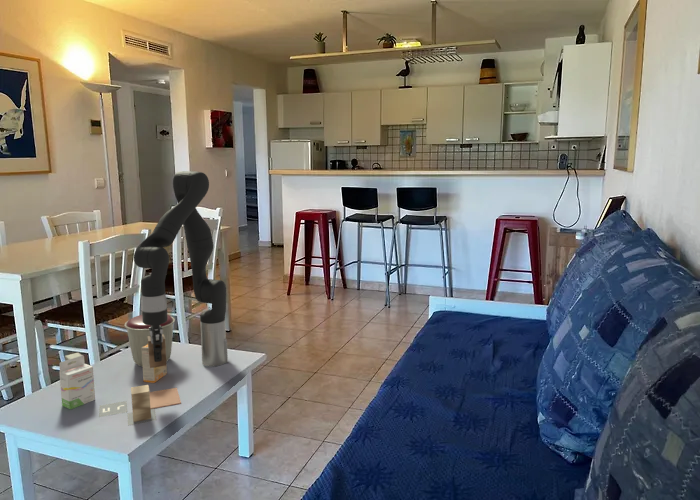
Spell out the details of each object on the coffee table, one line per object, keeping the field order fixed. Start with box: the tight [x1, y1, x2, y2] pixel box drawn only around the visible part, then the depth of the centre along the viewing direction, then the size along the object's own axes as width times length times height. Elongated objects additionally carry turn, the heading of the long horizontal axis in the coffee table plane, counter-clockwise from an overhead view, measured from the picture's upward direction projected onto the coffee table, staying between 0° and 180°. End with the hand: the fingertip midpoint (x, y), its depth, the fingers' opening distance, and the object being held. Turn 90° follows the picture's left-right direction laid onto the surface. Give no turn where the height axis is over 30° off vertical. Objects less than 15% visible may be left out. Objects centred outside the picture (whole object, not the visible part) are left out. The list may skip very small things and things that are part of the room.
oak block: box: [130, 384, 151, 422], centre depth 154 cm, size 5×5×9 cm
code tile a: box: [98, 400, 128, 418], centre depth 159 cm, size 8×8×1 cm
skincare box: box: [64, 352, 86, 365], centre depth 171 cm, size 6×4×12 cm
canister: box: [124, 314, 176, 367], centre depth 194 cm, size 18×18×21 cm
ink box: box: [58, 354, 96, 410], centre depth 162 cm, size 9×5×15 cm, turn 148°
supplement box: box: [141, 341, 168, 384], centre depth 181 cm, size 8×5×13 cm, turn 168°
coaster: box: [149, 387, 182, 409], centre depth 166 cm, size 12×12×1 cm
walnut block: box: [147, 334, 168, 368], centre depth 163 cm, size 5×5×9 cm
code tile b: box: [126, 408, 158, 426], centre depth 154 cm, size 8×8×1 cm
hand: (157, 357), depth 163 cm, fingers closed on walnut block, 5 cm apart
